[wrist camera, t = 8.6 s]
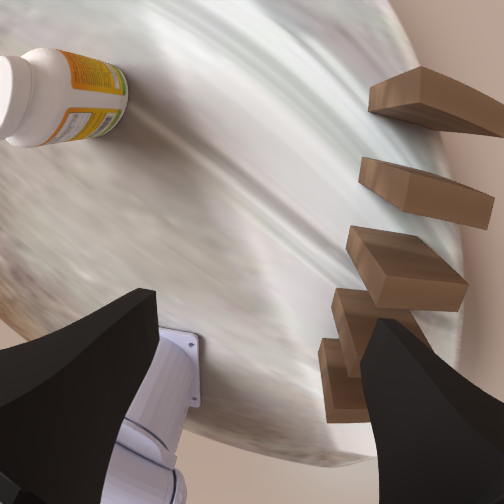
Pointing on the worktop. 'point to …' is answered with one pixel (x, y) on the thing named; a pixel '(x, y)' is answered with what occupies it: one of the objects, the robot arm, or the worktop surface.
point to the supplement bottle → (58, 97)
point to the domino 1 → (340, 386)
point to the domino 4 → (404, 271)
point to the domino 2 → (437, 103)
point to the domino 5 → (364, 324)
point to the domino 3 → (426, 193)
